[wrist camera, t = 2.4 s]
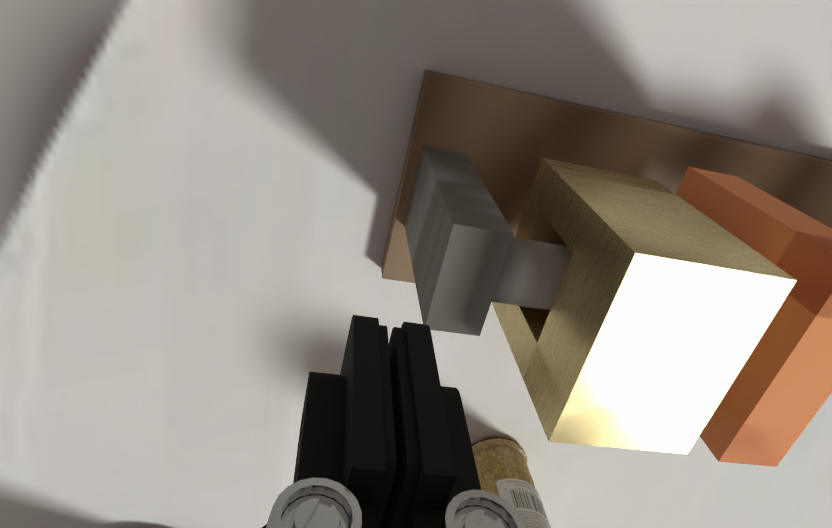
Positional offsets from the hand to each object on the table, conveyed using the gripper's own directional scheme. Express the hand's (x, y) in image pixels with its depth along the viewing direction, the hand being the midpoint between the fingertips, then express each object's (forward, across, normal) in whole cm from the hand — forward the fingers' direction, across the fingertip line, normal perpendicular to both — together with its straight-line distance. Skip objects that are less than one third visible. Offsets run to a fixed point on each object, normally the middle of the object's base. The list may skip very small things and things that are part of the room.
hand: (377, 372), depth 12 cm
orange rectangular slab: (+12, -14, +1) cm, 18 cm away
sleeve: (+10, -9, +1) cm, 14 cm away
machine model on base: (+15, -15, +1) cm, 21 cm away
